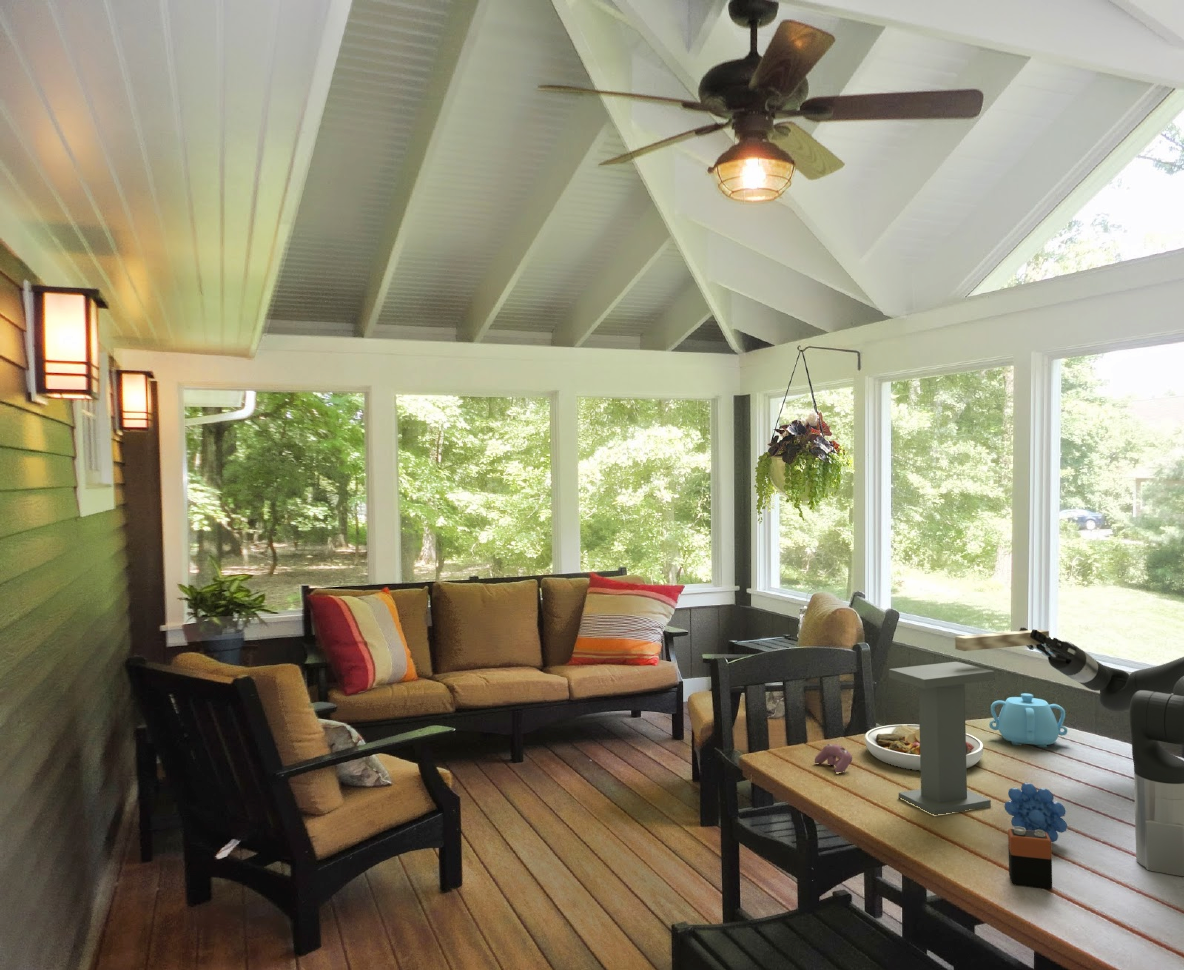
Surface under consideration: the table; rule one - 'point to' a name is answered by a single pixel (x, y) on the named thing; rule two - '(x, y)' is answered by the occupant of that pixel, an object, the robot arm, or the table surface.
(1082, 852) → the table surface
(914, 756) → the bowl
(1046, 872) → the battery
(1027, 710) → the decorative pot
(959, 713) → the plant stand
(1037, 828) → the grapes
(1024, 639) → the birch rod
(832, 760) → the video game controller
